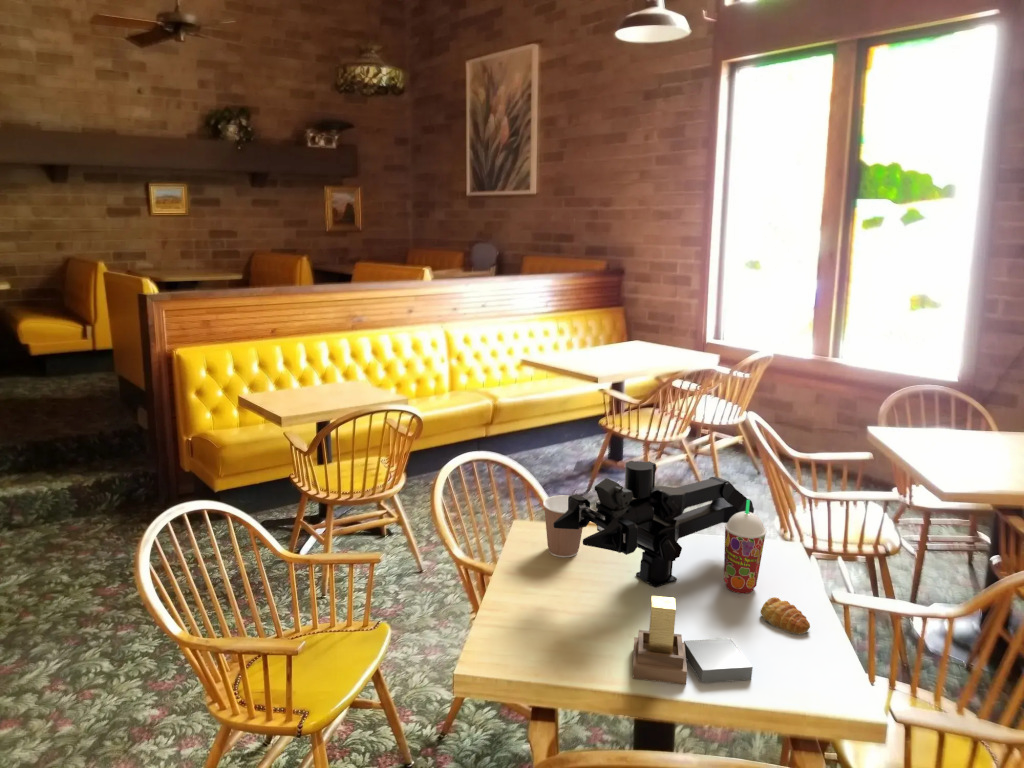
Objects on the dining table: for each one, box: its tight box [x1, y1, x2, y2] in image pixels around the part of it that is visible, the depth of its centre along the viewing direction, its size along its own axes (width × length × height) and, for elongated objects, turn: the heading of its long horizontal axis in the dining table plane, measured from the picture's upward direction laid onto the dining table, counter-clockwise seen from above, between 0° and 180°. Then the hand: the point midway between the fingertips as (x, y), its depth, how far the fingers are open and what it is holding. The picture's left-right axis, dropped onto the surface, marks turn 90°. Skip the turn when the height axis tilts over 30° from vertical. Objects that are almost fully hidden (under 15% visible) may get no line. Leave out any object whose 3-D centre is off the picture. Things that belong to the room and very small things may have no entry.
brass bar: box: [648, 595, 677, 655], centre depth 133 cm, size 4×4×10 cm
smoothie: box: [723, 499, 767, 594], centre depth 161 cm, size 8×8×20 cm
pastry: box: [760, 596, 811, 636], centre depth 149 cm, size 9×7×4 cm
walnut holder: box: [632, 629, 688, 686], centre depth 134 cm, size 9×9×4 cm
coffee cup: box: [542, 494, 584, 558], centre depth 177 cm, size 10×10×12 cm
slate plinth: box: [683, 637, 753, 684], centre depth 135 cm, size 9×9×2 cm
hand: (568, 533), depth 149 cm, fingers open, 9 cm apart
